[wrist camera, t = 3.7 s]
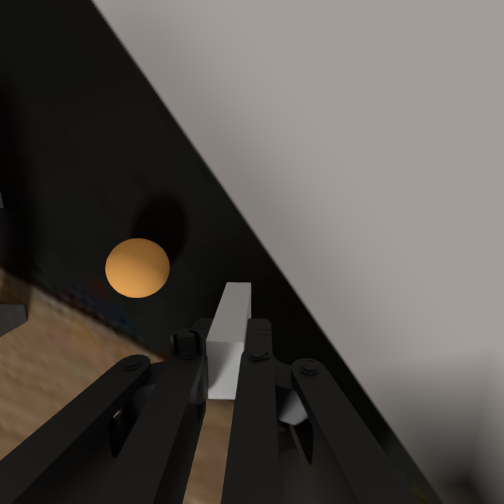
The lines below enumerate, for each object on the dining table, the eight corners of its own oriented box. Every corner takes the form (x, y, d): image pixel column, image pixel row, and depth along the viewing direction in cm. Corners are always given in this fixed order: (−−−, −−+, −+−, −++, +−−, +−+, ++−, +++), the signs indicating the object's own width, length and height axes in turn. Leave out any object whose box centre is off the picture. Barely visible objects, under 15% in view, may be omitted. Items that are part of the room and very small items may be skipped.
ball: (175, 233, 28) (154, 245, 23) (178, 285, 29) (159, 308, 24) (121, 233, 28) (88, 245, 23) (127, 284, 29) (96, 307, 24)
